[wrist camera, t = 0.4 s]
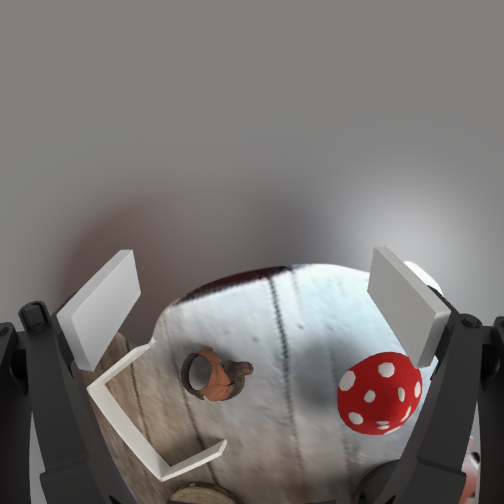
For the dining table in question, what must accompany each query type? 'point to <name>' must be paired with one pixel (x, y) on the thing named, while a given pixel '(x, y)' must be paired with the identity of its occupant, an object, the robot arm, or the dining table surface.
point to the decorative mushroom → (379, 393)
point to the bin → (131, 432)
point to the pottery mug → (217, 377)
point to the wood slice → (204, 494)
